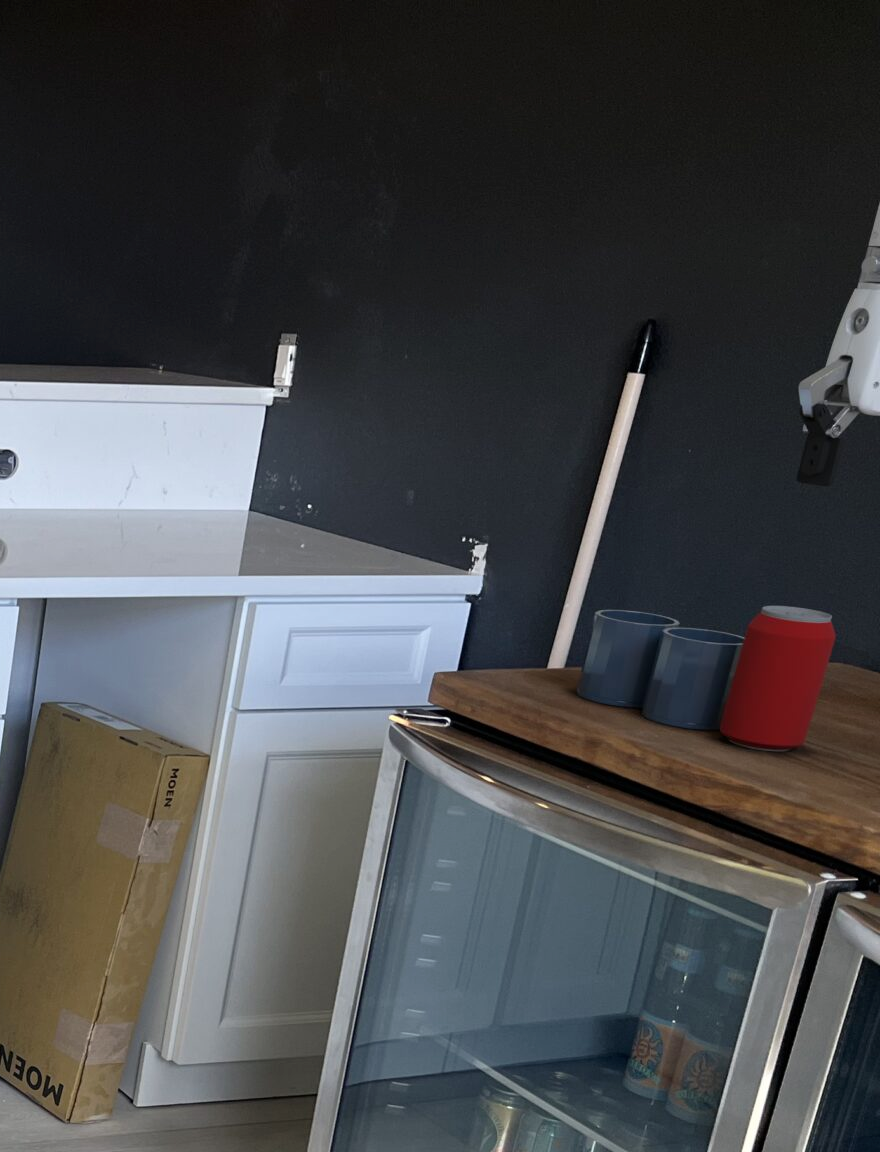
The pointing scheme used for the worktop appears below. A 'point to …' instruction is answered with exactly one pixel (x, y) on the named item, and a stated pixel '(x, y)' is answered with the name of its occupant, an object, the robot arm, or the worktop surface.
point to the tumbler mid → (692, 678)
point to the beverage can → (778, 678)
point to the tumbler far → (621, 656)
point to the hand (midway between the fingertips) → (857, 483)
